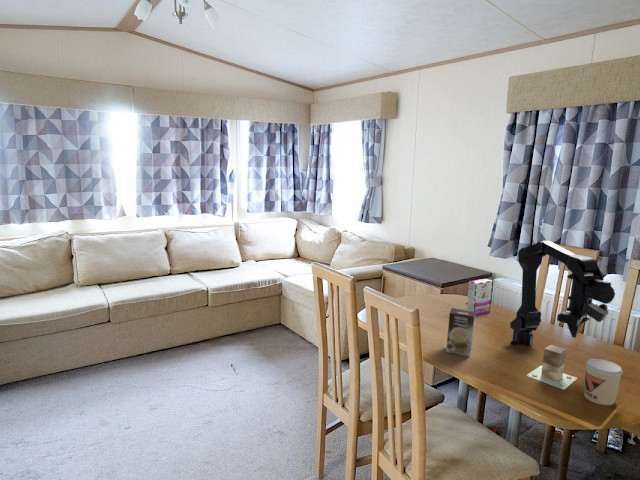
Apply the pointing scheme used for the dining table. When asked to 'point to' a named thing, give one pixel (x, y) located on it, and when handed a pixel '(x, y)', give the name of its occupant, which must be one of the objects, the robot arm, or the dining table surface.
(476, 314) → the candy bar box
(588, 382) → the cream tub with lid
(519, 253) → the robot arm
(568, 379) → the board
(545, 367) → the oak block
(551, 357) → the walnut block
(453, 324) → the coffee box
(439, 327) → the dining table surface
